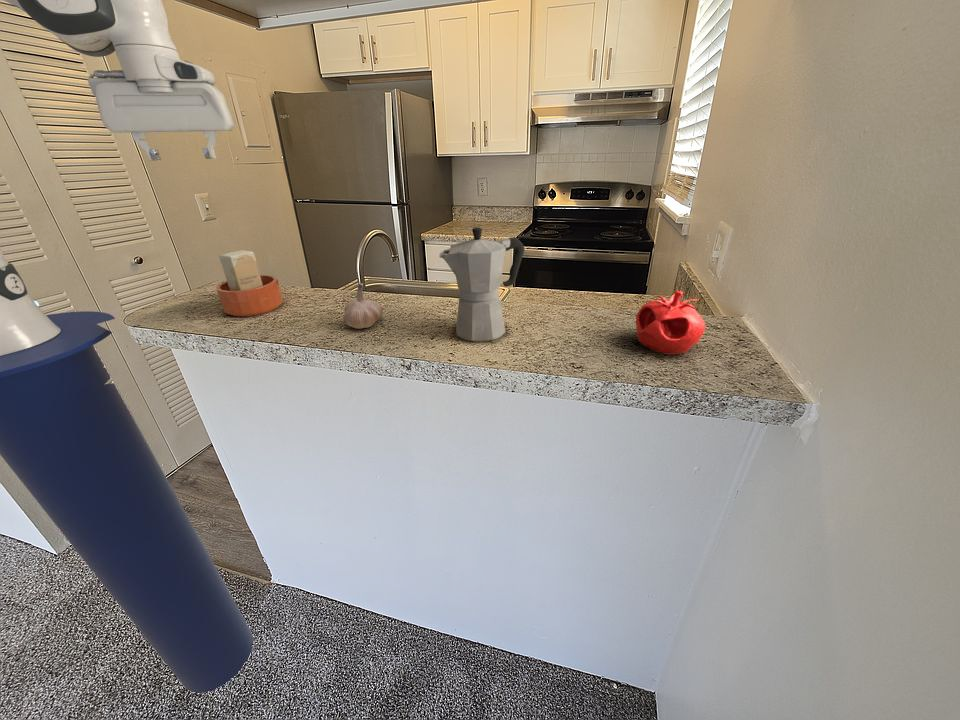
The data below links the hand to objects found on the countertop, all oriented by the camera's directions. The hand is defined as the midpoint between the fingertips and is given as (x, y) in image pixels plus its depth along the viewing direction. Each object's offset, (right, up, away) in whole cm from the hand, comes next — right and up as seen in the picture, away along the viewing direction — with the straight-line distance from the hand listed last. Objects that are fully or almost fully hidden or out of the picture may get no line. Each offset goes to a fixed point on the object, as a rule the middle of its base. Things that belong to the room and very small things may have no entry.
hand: (183, 159), depth 76 cm
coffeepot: (+57, -33, -4) cm, 66 cm away
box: (+7, -26, +10) cm, 29 cm away
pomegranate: (+86, -36, -11) cm, 94 cm away
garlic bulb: (+34, -31, 0) cm, 47 cm away
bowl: (+8, -27, +10) cm, 30 cm away
